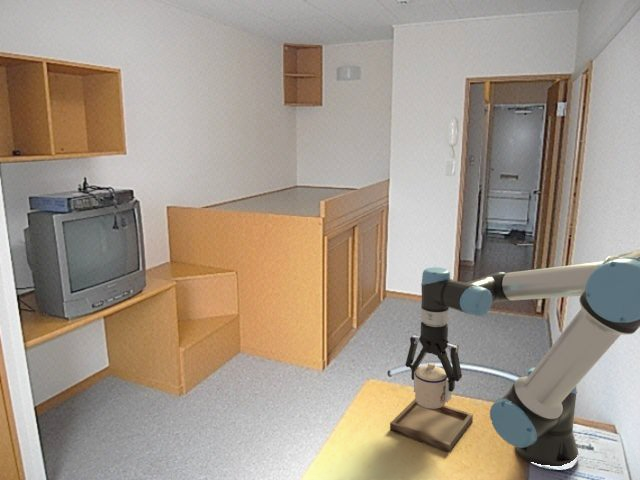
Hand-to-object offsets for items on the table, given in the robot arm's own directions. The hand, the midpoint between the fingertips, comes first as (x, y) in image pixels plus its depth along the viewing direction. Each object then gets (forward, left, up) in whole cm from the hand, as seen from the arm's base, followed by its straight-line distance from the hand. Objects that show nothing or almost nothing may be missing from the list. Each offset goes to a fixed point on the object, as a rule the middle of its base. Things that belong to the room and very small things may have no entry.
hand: (432, 395), depth 140 cm
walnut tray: (0, 0, -10) cm, 10 cm away
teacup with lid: (+1, 0, -2) cm, 2 cm away
